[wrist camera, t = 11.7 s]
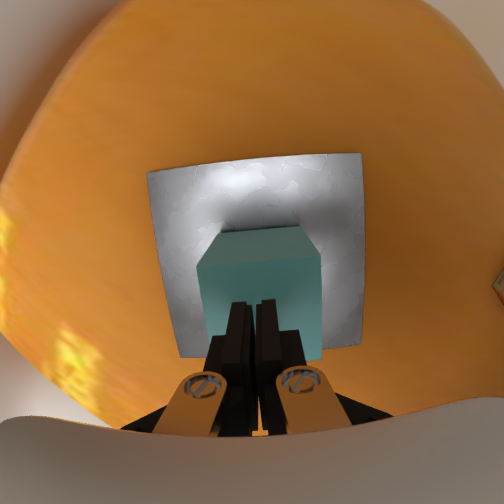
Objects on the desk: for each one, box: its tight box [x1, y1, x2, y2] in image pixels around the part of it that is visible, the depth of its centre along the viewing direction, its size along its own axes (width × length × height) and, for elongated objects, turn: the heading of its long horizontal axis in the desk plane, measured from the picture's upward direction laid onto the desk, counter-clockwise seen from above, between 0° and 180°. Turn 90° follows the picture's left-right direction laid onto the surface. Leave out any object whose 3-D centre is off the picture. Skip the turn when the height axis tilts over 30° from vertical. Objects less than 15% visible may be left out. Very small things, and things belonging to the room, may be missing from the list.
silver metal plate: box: [146, 153, 365, 358], centre depth 17 cm, size 14×14×7 cm
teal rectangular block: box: [196, 226, 322, 361], centre depth 16 cm, size 5×5×7 cm
